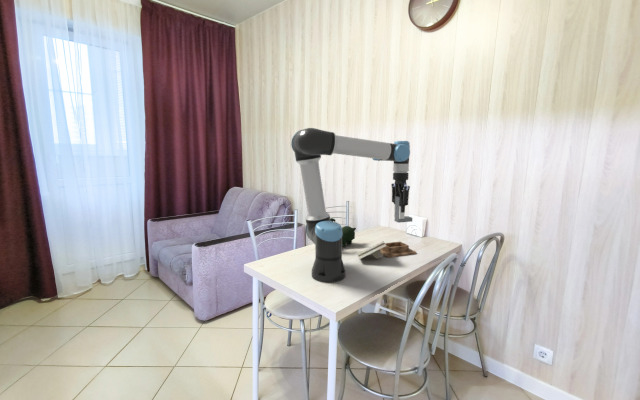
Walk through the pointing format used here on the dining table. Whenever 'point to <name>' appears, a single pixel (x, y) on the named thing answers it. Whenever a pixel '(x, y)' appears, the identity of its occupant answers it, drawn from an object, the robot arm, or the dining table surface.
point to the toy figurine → (346, 234)
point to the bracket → (397, 203)
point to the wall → (373, 251)
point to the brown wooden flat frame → (396, 249)
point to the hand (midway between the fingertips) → (399, 217)
